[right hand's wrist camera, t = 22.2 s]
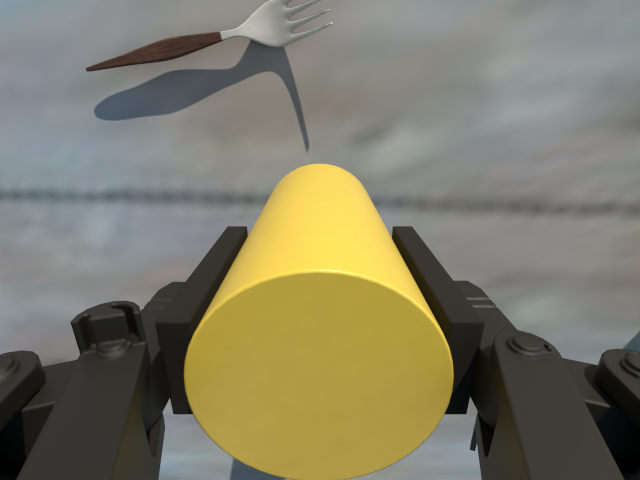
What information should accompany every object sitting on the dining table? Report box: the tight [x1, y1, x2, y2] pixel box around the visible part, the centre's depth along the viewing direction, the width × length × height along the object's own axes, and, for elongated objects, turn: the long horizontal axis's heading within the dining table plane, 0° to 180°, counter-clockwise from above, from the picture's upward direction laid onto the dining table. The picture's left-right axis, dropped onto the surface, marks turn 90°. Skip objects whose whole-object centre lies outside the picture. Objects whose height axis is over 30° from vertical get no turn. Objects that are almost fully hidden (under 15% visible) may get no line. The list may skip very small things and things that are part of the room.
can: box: [184, 164, 454, 480], centre depth 13 cm, size 6×6×13 cm
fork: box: [86, 0, 333, 71], centre depth 21 cm, size 3×16×2 cm, turn 102°
